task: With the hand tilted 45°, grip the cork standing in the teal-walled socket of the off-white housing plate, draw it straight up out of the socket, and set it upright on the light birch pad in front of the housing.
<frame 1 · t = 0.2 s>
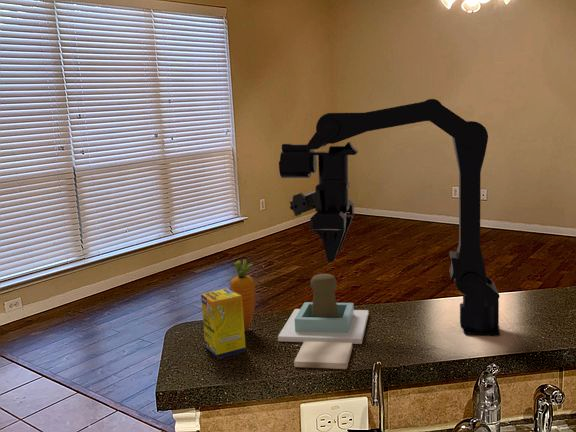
hand: (334, 256, 114), 15 cm above the counter, tool pointing down, fingers open, 9 cm apart
carrot: (245, 331, 117), on the counter
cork: (325, 328, 116), resting in housing
housing: (325, 327, 116), on the counter
supplement box: (225, 351, 107), on the counter
pad: (324, 357, 102), on the counter
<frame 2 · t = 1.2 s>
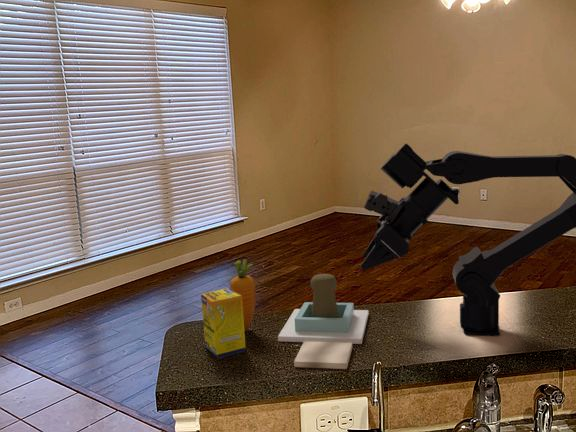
hand: (363, 262, 112), 13 cm above the counter, tool tilted 45°, fingers open, 9 cm apart
nothing on the counter moved.
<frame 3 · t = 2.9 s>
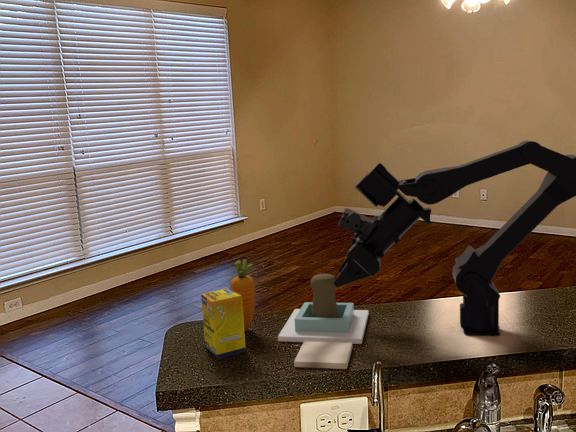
hand: (337, 278, 114), 10 cm above the counter, tool tilted 45°, fingers open, 9 cm apart
nothing on the counter moved.
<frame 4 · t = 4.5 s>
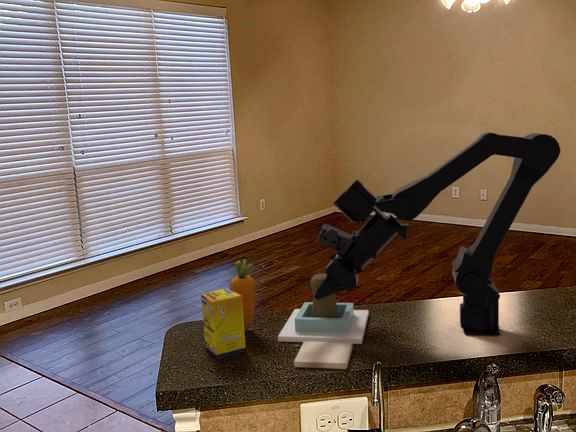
hand: (317, 293, 115), 7 cm above the counter, tool tilted 45°, fingers closed on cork, 5 cm apart
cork: (325, 328, 116), resting in housing, touching gripper
everything else where it was.
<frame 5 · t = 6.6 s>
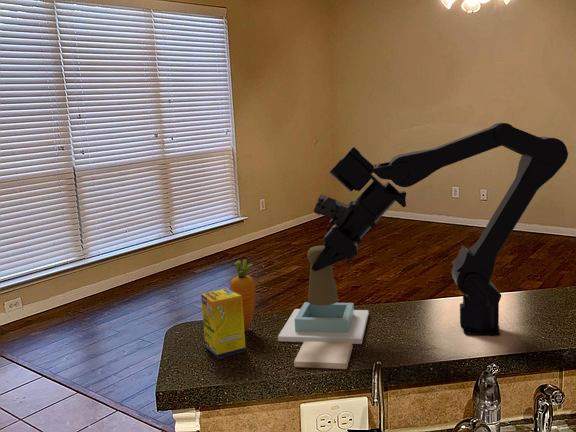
hand: (314, 266, 112), 13 cm above the counter, tool tilted 45°, fingers closed on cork, 5 cm apart
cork: (323, 301, 113), point 6 cm above the counter, touching gripper
everything else where it was.
when the fingers open (9 cm above the counter, at t = 9.0 s): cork drops 1 cm, resting on pad.
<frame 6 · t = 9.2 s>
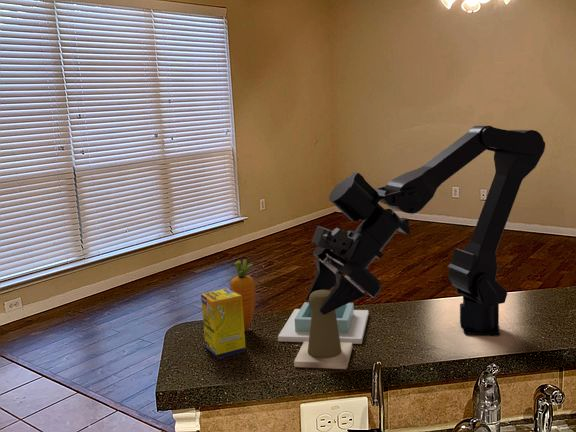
hand: (314, 306, 100), 10 cm above the counter, tool tilted 45°, fingers open, 7 cm apart
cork: (324, 352, 102), point 1 cm above the counter, touching pad
everything else where it was.
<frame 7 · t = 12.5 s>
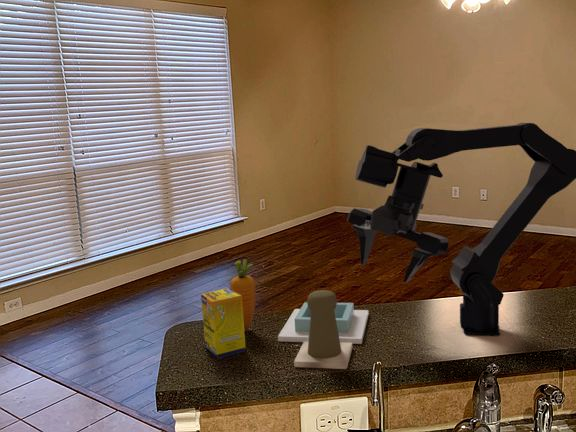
hand: (383, 273, 108), 12 cm above the counter, tool tilted 20°, fingers open, 9 cm apart
nothing on the counter moved.
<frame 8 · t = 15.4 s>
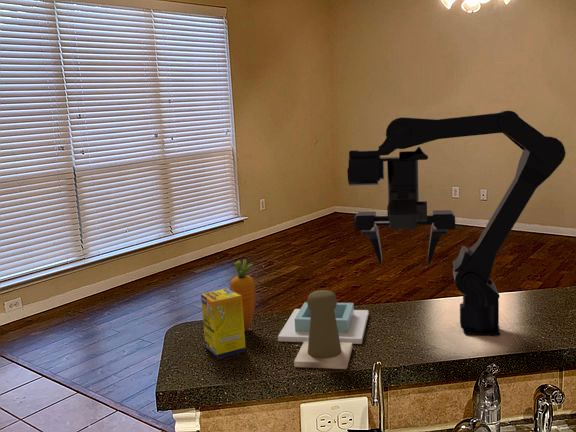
hand: (404, 263, 111), 13 cm above the counter, tool pointing down, fingers open, 9 cm apart
nothing on the counter moved.
at the end: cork inside the target area on the pad (0.1 cm from its centre), point 0.8 cm above the pad's base; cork tilted 0°; the gripper is holding nothing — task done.
